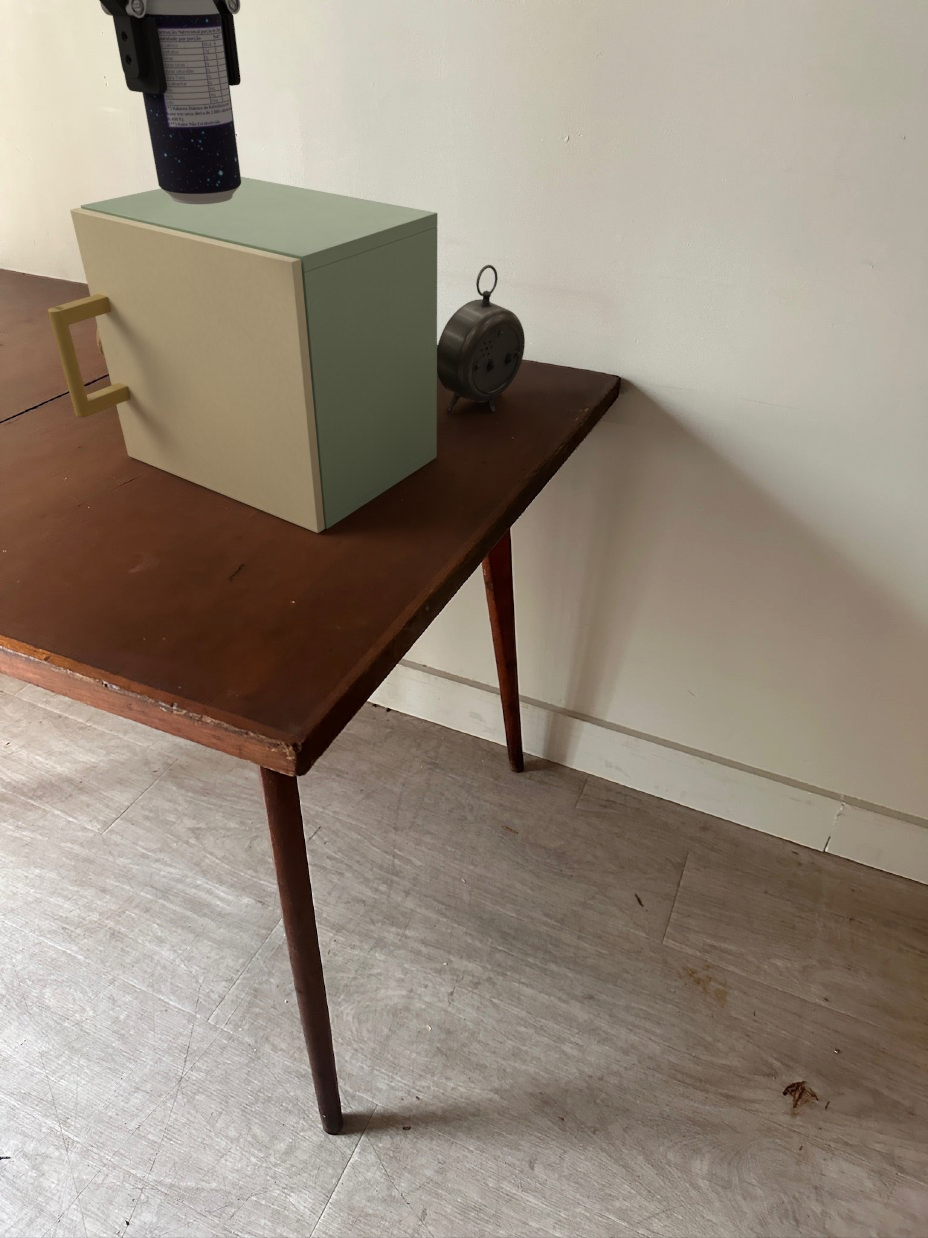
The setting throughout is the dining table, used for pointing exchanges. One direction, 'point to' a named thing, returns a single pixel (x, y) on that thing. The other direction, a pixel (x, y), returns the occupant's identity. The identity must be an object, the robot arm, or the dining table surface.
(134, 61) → the robot arm
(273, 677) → the dining table surface
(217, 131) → the beverage can
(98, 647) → the dining table surface
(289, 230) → the cupboard
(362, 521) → the dining table surface
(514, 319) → the alarm clock
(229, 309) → the cupboard door
